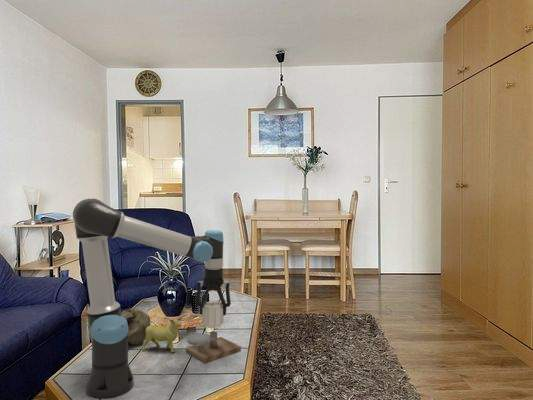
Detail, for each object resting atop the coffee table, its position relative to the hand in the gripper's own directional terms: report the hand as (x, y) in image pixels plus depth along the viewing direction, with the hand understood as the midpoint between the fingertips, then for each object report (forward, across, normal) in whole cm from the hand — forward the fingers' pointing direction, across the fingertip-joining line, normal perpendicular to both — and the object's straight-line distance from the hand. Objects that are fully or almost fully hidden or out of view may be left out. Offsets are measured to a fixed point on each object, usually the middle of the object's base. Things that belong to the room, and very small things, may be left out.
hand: (213, 322), depth 173 cm
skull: (+13, +38, -7) cm, 41 cm away
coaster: (+12, +8, -13) cm, 20 cm away
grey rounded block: (+1, 0, 0) cm, 1 cm away
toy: (+13, +21, 0) cm, 25 cm away
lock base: (+12, 0, 0) cm, 12 cm away
